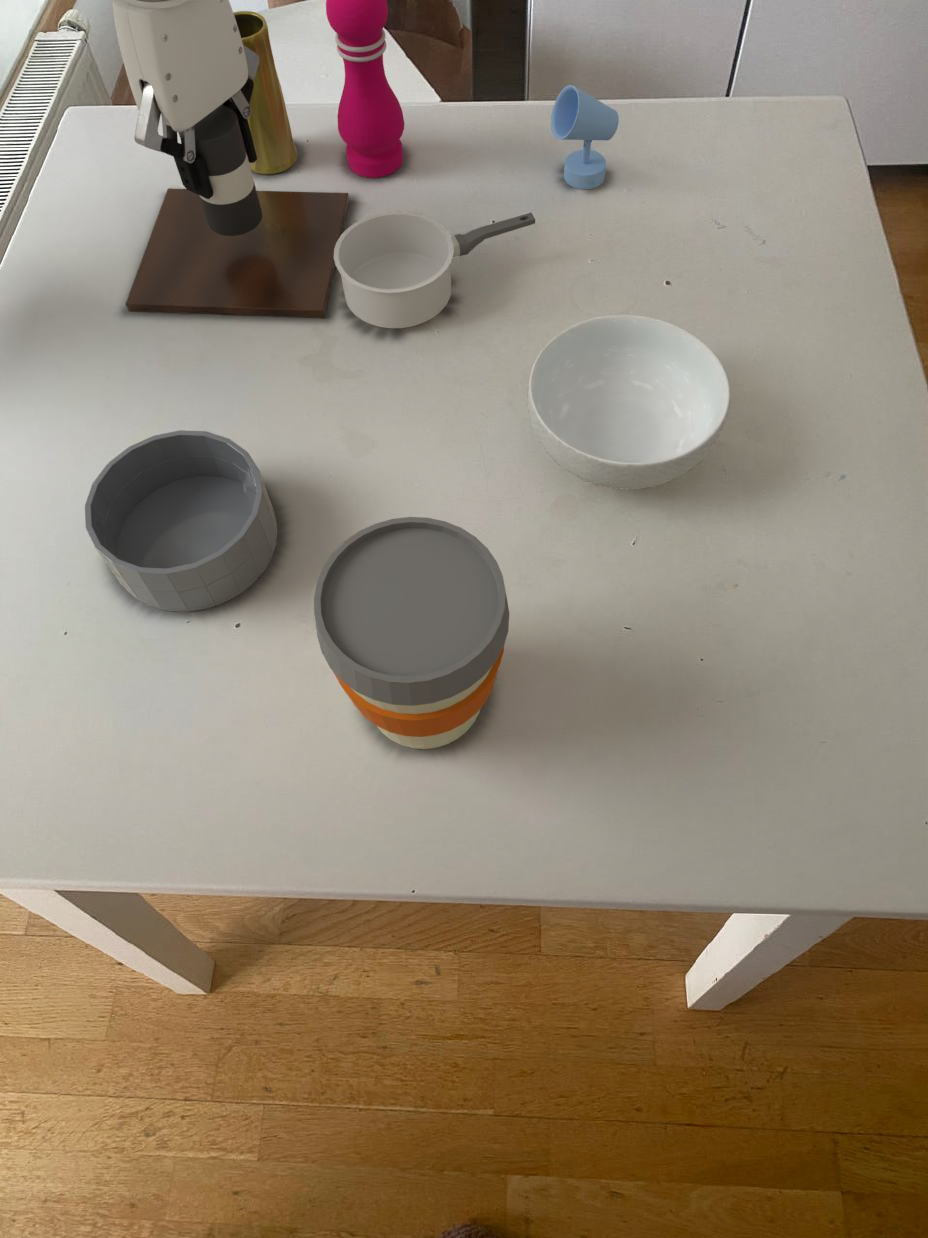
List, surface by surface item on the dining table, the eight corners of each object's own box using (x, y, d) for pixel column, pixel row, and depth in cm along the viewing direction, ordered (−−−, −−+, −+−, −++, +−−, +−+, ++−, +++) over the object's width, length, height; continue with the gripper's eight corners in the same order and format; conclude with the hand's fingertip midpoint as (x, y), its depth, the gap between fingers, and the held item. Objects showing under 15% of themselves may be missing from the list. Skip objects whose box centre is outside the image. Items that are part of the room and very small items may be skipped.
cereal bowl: (635, 550, 75) (648, 499, 69) (487, 447, 80) (486, 392, 74) (750, 432, 80) (772, 375, 74) (604, 344, 86) (613, 284, 80)
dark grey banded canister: (202, 235, 89) (170, 139, 80) (214, 199, 92) (184, 103, 83) (256, 236, 89) (230, 140, 80) (266, 200, 91) (242, 103, 83)
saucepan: (551, 299, 89) (555, 252, 84) (359, 350, 87) (351, 305, 82) (511, 228, 95) (513, 180, 90) (329, 274, 92) (320, 227, 87)
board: (128, 311, 90) (125, 303, 89) (170, 195, 99) (167, 187, 98) (324, 318, 89) (322, 310, 88) (349, 200, 98) (348, 192, 97)
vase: (264, 182, 99) (232, 49, 87) (233, 157, 102) (197, 23, 89) (308, 158, 101) (282, 24, 89) (277, 134, 104) (248, 0, 91)
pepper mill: (334, 151, 102) (302, -49, 84) (393, 134, 103) (373, -66, 86) (356, 188, 99) (327, -12, 81) (417, 170, 100) (401, -31, 82)
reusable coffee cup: (503, 620, 72) (505, 510, 59) (510, 769, 66) (515, 683, 53) (347, 625, 72) (315, 516, 59) (339, 775, 66) (302, 690, 53)
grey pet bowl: (93, 607, 73) (62, 568, 68) (136, 471, 80) (111, 426, 75) (260, 616, 73) (242, 577, 67) (290, 478, 79) (275, 433, 74)
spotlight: (558, 197, 97) (618, 183, 98) (565, 106, 88) (630, 92, 89) (543, 170, 99) (601, 157, 100) (548, 78, 90) (611, 65, 91)
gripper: (198, -96, 75) (251, 116, 90) (45, 1, 68) (131, 211, 84) (267, -73, 72) (308, 140, 88) (115, 29, 66) (189, 239, 82)
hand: (221, 172), depth 86 cm, fingers closed on dark grey banded canister, 5 cm apart
